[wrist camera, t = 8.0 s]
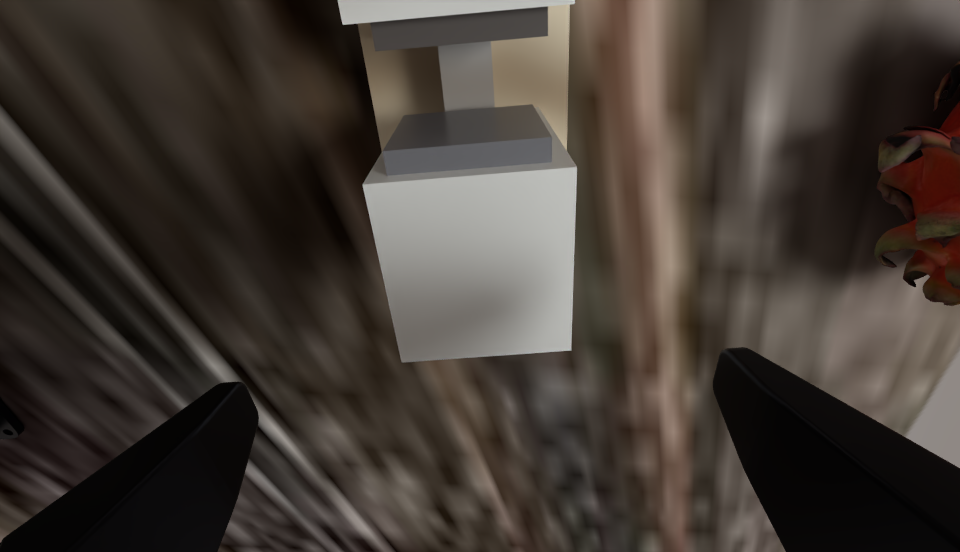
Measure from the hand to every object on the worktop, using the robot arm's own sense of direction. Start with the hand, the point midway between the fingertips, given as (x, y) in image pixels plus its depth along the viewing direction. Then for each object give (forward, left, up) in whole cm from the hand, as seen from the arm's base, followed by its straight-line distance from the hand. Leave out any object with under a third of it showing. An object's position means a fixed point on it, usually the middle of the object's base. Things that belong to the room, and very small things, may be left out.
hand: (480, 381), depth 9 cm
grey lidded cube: (0, 0, -11) cm, 11 cm away
